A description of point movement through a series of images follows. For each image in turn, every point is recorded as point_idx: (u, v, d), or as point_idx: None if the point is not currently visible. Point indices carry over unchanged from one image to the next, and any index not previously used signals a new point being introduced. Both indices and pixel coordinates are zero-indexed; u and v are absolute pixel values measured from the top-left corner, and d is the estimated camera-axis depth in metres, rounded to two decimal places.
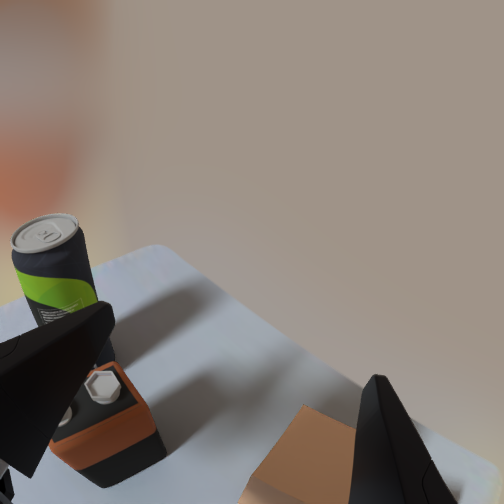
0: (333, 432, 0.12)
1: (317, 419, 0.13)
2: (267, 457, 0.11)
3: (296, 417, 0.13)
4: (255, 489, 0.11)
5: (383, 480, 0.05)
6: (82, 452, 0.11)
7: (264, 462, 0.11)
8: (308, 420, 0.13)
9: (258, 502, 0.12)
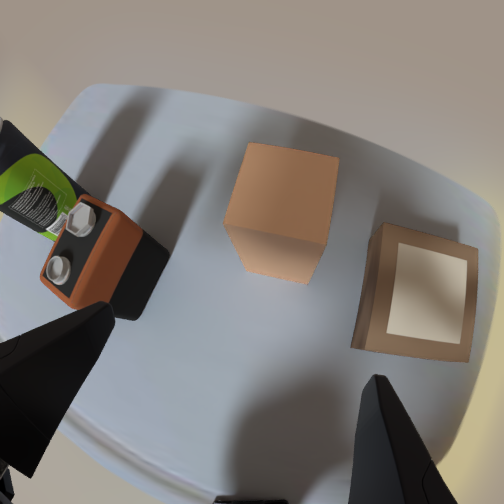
0: (285, 159, 0.15)
1: (266, 151, 0.15)
2: (231, 201, 0.14)
3: (245, 155, 0.15)
4: (240, 241, 0.16)
5: (383, 480, 0.05)
6: (93, 290, 0.16)
7: (230, 207, 0.14)
8: (258, 154, 0.15)
9: (255, 258, 0.19)
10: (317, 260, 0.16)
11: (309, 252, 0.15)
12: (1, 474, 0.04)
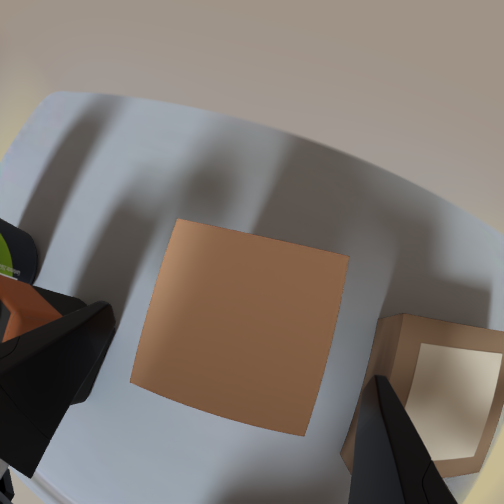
0: (242, 260, 0.08)
1: (207, 241, 0.08)
2: (141, 344, 0.07)
3: (169, 249, 0.08)
4: None
5: (383, 480, 0.05)
6: None
7: (139, 354, 0.07)
8: (190, 248, 0.08)
9: None
10: None
11: None
12: (1, 474, 0.04)
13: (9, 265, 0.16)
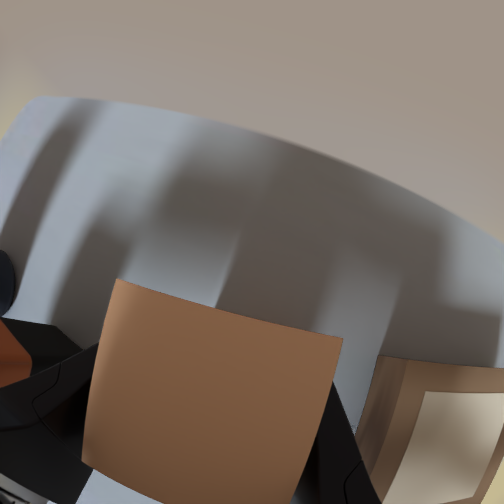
0: (195, 341, 0.06)
1: (151, 312, 0.06)
2: (87, 426, 0.05)
3: (107, 319, 0.06)
4: None
5: (307, 475, 0.05)
6: None
7: (87, 436, 0.05)
8: (132, 321, 0.06)
9: None
10: None
11: None
12: None
13: None
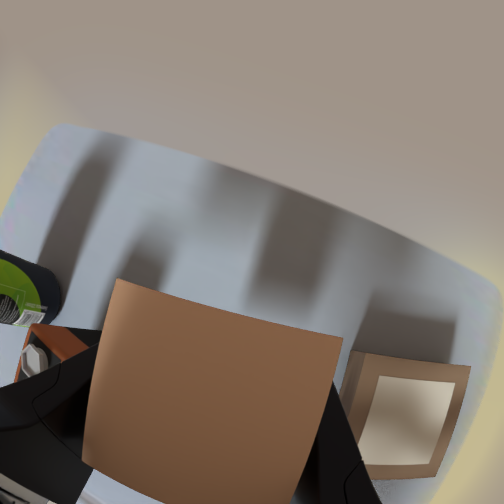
0: (196, 341, 0.06)
1: (151, 312, 0.06)
2: (87, 426, 0.05)
3: (107, 319, 0.06)
4: None
5: (307, 475, 0.05)
6: None
7: (87, 436, 0.05)
8: (132, 321, 0.06)
9: None
10: None
11: None
12: None
13: (38, 303, 0.20)
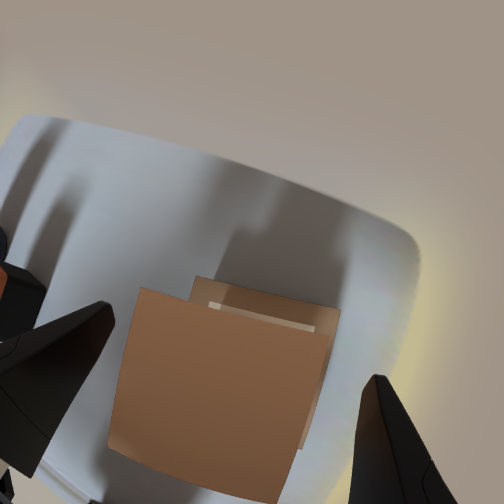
0: (210, 339, 0.07)
1: (172, 315, 0.07)
2: (114, 414, 0.06)
3: (133, 322, 0.07)
4: None
5: (383, 480, 0.05)
6: None
7: (113, 423, 0.06)
8: (155, 323, 0.07)
9: None
10: None
11: None
12: (1, 474, 0.04)
13: None
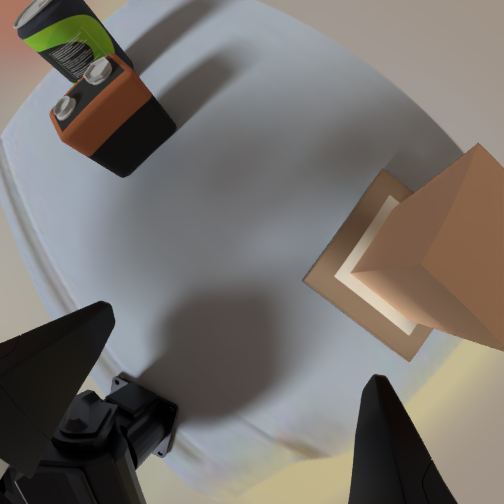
0: None
1: (496, 173, 0.07)
2: (441, 231, 0.07)
3: (473, 162, 0.07)
4: (403, 277, 0.09)
5: (383, 480, 0.05)
6: (86, 131, 0.16)
7: (437, 240, 0.07)
8: (487, 172, 0.07)
9: (389, 286, 0.12)
10: (468, 339, 0.09)
11: (475, 336, 0.08)
12: (1, 474, 0.04)
13: None
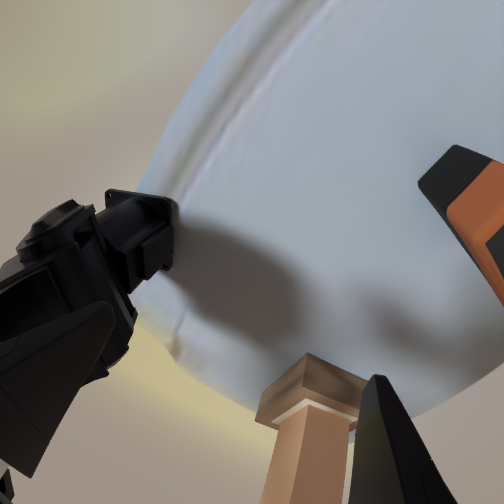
0: None
1: None
2: None
3: None
4: (290, 479, 0.17)
5: (383, 480, 0.05)
6: (474, 254, 0.10)
7: None
8: None
9: (293, 451, 0.20)
10: (265, 482, 0.20)
11: (266, 491, 0.18)
12: (1, 474, 0.04)
13: None
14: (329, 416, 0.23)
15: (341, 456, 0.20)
